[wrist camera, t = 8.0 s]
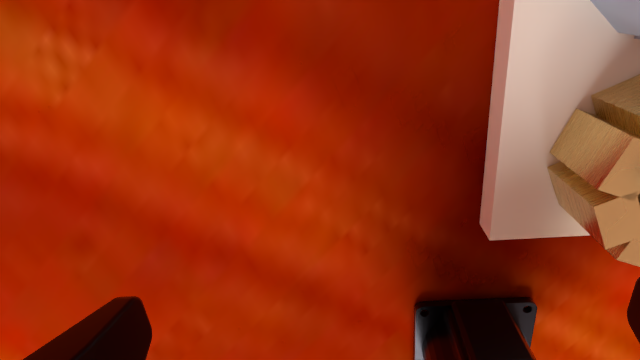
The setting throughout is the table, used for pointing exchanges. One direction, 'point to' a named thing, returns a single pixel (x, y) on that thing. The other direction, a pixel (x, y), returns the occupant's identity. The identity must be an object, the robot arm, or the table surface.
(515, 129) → the gear board
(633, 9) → the slate gear
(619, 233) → the brass gear
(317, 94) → the table surface
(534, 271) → the table surface
